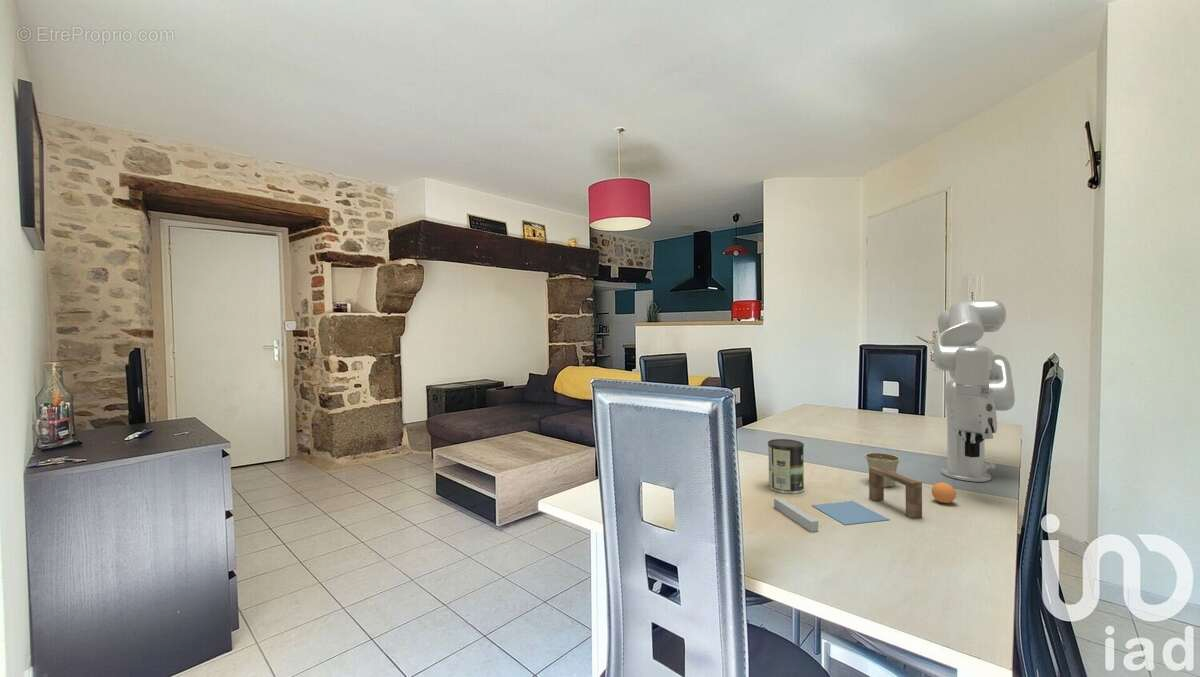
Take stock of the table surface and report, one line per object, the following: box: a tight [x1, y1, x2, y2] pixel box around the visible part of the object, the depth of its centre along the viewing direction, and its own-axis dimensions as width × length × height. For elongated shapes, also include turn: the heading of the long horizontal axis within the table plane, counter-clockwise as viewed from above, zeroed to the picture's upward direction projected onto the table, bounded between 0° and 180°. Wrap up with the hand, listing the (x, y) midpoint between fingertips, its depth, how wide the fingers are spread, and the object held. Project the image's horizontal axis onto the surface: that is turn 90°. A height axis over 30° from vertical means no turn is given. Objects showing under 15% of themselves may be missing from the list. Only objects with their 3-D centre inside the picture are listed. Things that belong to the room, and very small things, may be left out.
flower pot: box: [864, 452, 901, 488], centre depth 146 cm, size 9×9×9 cm
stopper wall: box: [773, 497, 819, 533], centre depth 121 cm, size 2×16×2 cm, turn 11°
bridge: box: [868, 466, 923, 520], centre depth 127 cm, size 3×14×9 cm, turn 11°
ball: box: [931, 482, 957, 504], centre depth 130 cm, size 6×6×6 cm
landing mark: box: [811, 500, 890, 526], centre depth 124 cm, size 13×13×1 cm
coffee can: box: [767, 438, 805, 495], centre depth 144 cm, size 10×10×14 cm
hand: (972, 456), depth 131 cm, fingers closed
